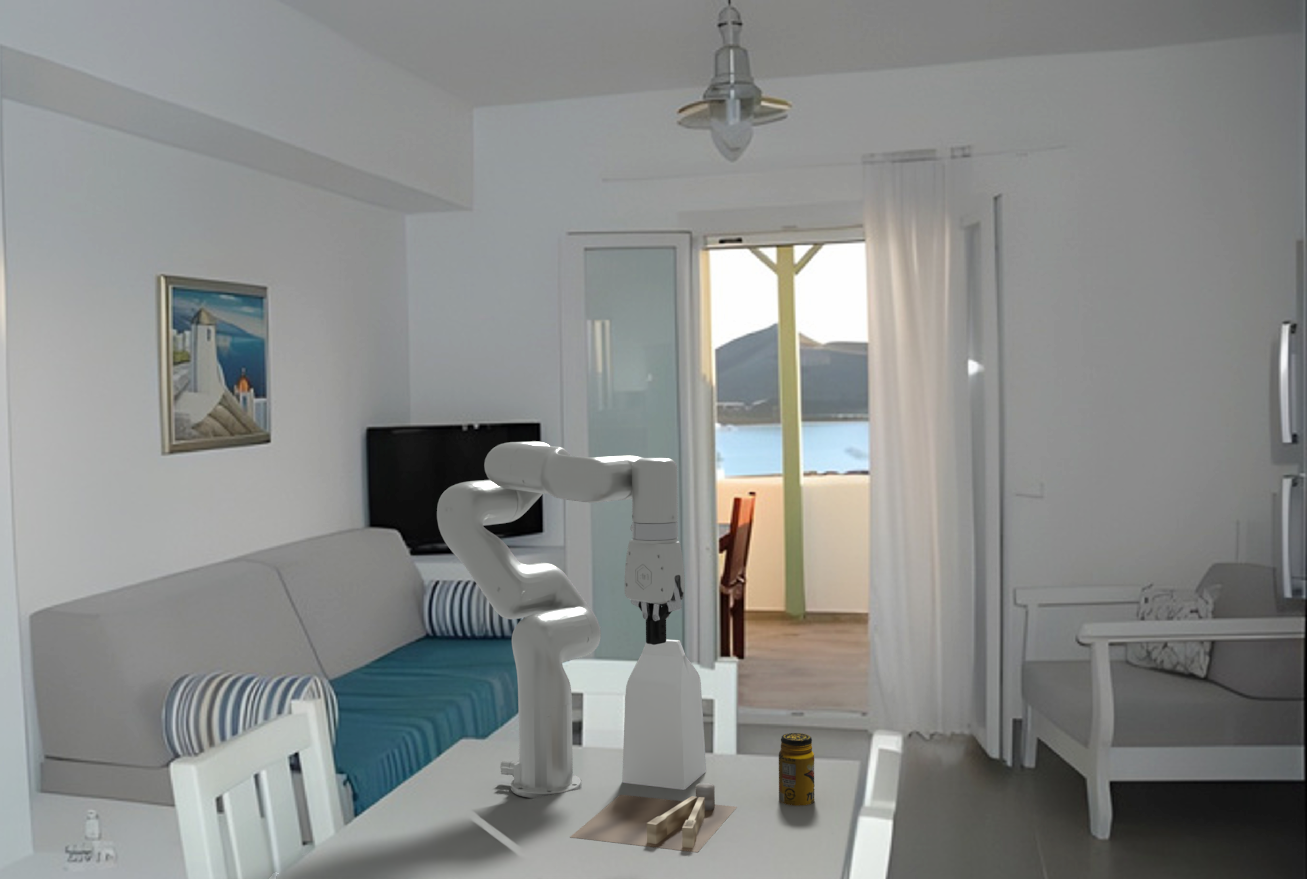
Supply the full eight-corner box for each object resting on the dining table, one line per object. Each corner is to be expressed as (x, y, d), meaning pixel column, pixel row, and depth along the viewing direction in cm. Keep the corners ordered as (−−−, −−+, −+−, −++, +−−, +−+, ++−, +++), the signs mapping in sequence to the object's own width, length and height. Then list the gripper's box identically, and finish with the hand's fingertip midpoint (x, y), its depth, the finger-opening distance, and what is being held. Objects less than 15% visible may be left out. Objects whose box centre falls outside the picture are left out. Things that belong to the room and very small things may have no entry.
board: (569, 843, 194) (569, 837, 194) (620, 800, 215) (620, 794, 215) (697, 858, 187) (697, 852, 187) (737, 812, 208) (737, 806, 208)
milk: (621, 788, 222) (620, 643, 221) (646, 770, 232) (644, 632, 232) (684, 795, 217) (683, 648, 216) (706, 776, 228) (705, 636, 227)
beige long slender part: (697, 803, 209) (697, 782, 209) (715, 804, 209) (715, 783, 209) (677, 846, 189) (677, 823, 189) (697, 848, 189) (697, 824, 189)
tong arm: (690, 813, 204) (689, 795, 204) (698, 815, 204) (698, 797, 204) (646, 842, 191) (646, 823, 191) (656, 844, 191) (655, 824, 191)
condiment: (825, 807, 210) (824, 737, 210) (786, 817, 205) (786, 745, 205) (797, 796, 216) (796, 728, 216) (759, 805, 212) (758, 736, 211)
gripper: (607, 531, 207) (608, 640, 208) (672, 537, 197) (673, 652, 197) (639, 527, 213) (640, 634, 213) (703, 533, 202) (704, 645, 203)
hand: (656, 642), depth 205 cm, fingers closed
